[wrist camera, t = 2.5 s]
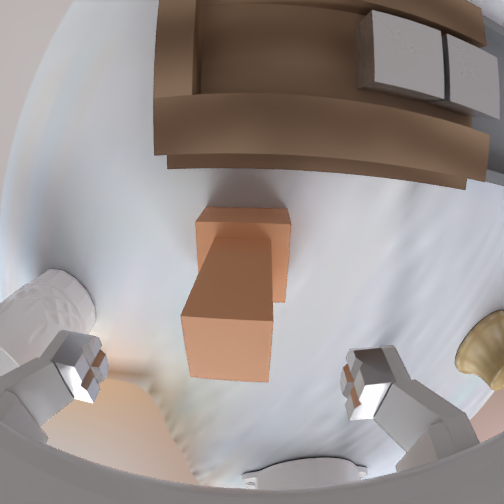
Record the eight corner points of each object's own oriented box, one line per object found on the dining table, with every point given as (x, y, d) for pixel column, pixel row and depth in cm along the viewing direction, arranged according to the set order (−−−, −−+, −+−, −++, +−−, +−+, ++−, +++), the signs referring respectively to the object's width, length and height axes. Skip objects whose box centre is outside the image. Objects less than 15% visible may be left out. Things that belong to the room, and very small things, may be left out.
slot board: (456, 186, 16) (482, 197, 13) (173, 166, 17) (155, 174, 14) (454, 7, 11) (478, -4, 8) (180, -30, 11) (166, -51, 8)
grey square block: (471, 117, 13) (499, 119, 10) (423, 102, 13) (450, 100, 11) (469, 62, 12) (497, 57, 9) (421, 43, 12) (446, 33, 9)
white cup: (46, 243, 20) (-36, 307, 11) (115, 303, 22) (54, 393, 12) (29, 299, 22) (-30, 361, 13) (87, 349, 24) (40, 425, 15)
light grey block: (418, 101, 13) (444, 99, 11) (356, 88, 14) (374, 81, 11) (416, 42, 12) (440, 31, 9) (355, 26, 12) (371, 9, 9)
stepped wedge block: (282, 277, 20) (292, 396, 11) (209, 275, 20) (170, 387, 11) (287, 208, 18) (307, 298, 9) (206, 206, 18) (148, 290, 9)
